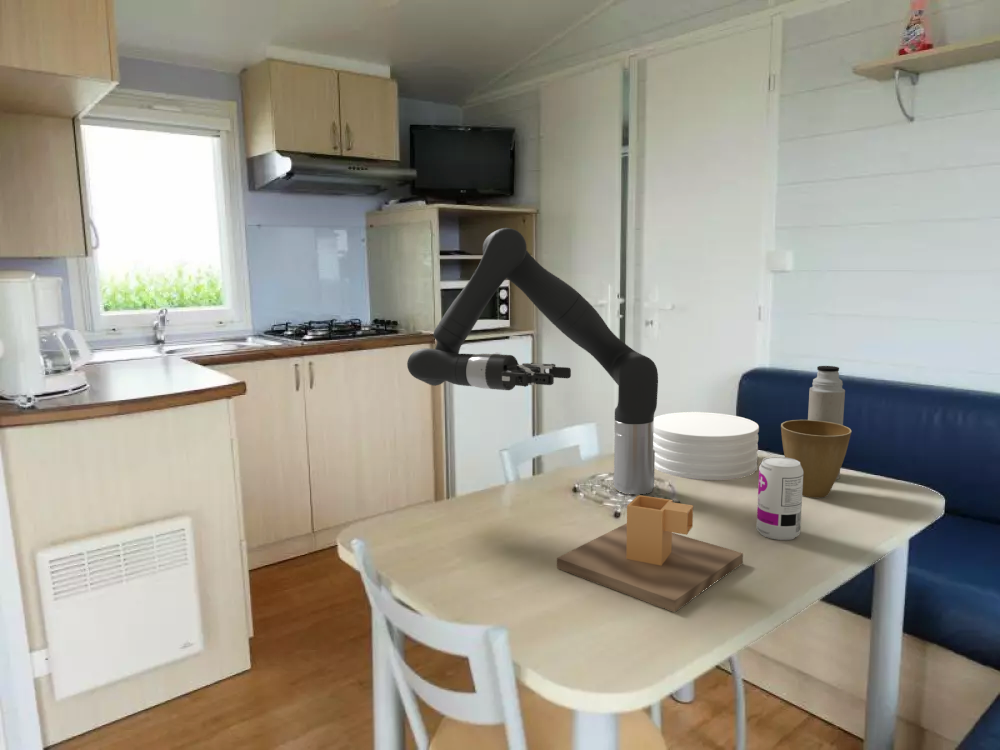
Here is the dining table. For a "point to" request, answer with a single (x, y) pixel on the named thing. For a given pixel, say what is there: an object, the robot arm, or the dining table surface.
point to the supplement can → (779, 498)
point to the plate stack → (705, 445)
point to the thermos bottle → (827, 397)
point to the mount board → (651, 568)
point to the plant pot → (816, 452)
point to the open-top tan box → (655, 527)
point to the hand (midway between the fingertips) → (561, 376)
